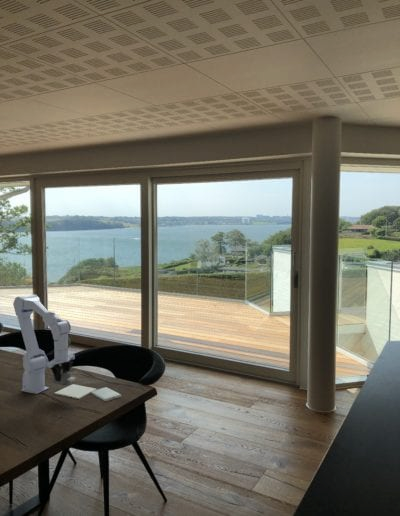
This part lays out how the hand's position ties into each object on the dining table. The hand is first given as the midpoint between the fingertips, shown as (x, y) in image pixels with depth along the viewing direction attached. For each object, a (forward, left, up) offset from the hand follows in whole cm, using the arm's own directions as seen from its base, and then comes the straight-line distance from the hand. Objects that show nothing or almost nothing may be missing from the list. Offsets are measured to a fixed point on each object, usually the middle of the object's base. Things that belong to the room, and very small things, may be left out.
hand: (61, 379), depth 187 cm
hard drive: (+15, +11, -9) cm, 21 cm away
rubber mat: (+1, +8, -8) cm, 12 cm away
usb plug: (+1, 0, -1) cm, 2 cm away
